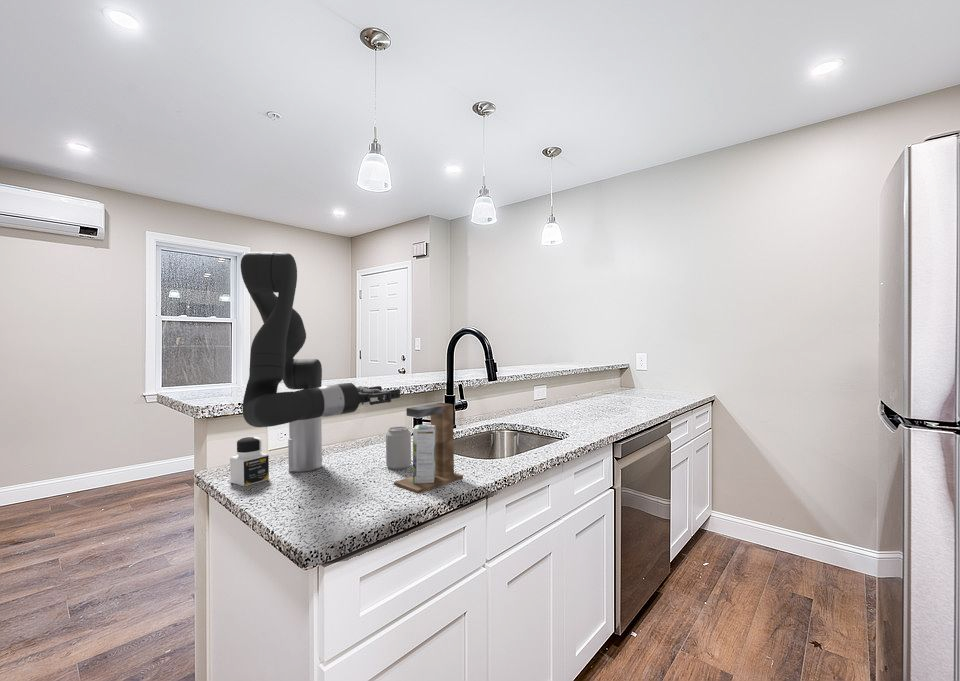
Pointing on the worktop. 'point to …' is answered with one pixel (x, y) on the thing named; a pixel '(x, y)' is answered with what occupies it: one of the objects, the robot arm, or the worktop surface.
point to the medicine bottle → (249, 463)
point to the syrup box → (424, 454)
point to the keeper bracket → (436, 446)
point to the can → (398, 448)
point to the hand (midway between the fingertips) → (389, 391)
